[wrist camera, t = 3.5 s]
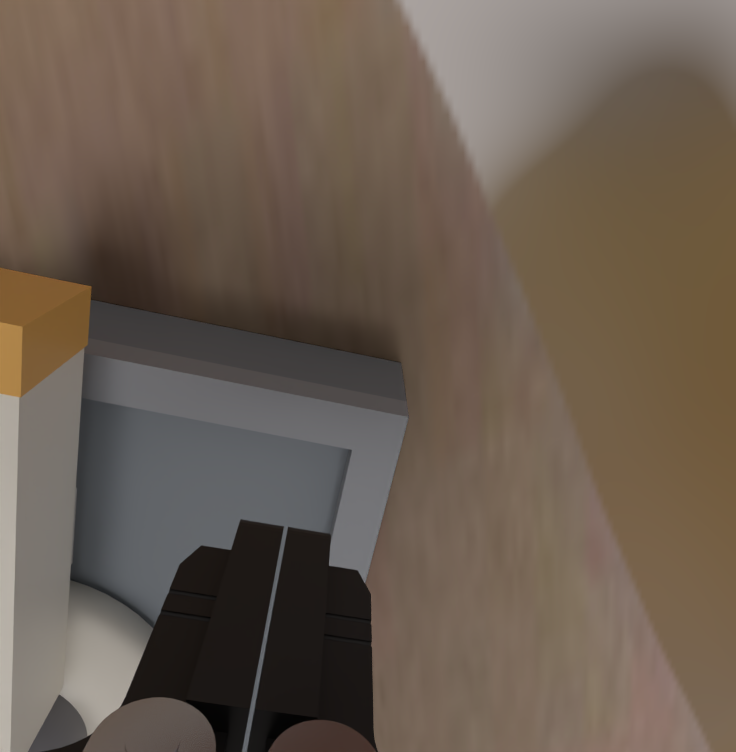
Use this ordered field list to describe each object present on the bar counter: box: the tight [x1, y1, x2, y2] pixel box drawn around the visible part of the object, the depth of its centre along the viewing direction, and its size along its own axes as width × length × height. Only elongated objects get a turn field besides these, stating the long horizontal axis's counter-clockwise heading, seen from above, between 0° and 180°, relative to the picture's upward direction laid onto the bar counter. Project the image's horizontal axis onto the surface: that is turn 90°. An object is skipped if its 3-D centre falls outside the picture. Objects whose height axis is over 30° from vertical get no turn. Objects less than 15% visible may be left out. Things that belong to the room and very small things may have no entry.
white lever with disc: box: [0, 268, 153, 752], centre depth 17 cm, size 18×9×4 cm, turn 168°
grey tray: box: [70, 300, 409, 752], centre depth 22 cm, size 18×24×4 cm
